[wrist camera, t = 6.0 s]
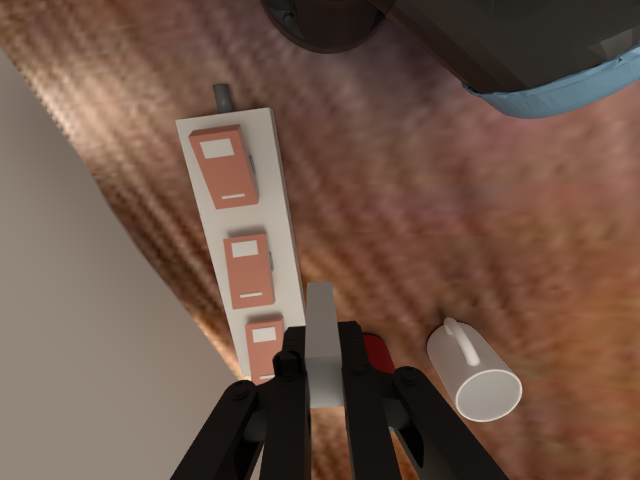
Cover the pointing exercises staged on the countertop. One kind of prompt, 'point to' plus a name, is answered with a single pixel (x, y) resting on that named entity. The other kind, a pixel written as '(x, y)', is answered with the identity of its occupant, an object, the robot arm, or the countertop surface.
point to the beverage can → (379, 356)
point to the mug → (473, 372)
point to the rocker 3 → (263, 347)
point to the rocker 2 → (249, 271)
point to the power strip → (250, 217)
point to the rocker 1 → (225, 166)
